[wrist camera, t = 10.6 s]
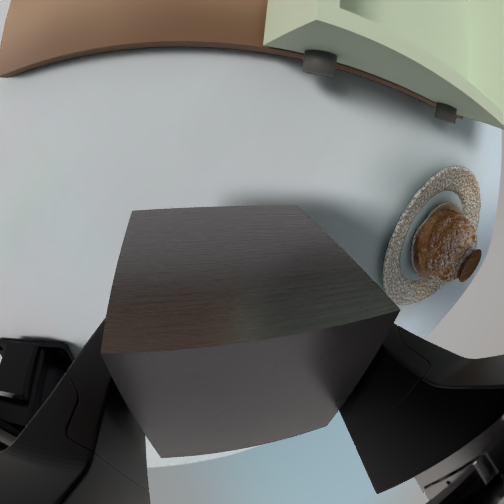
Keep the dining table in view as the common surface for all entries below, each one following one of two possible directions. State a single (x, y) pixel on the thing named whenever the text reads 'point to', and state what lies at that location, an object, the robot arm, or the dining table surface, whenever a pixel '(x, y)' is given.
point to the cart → (404, 47)
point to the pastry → (436, 238)
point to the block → (237, 326)
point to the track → (137, 30)
